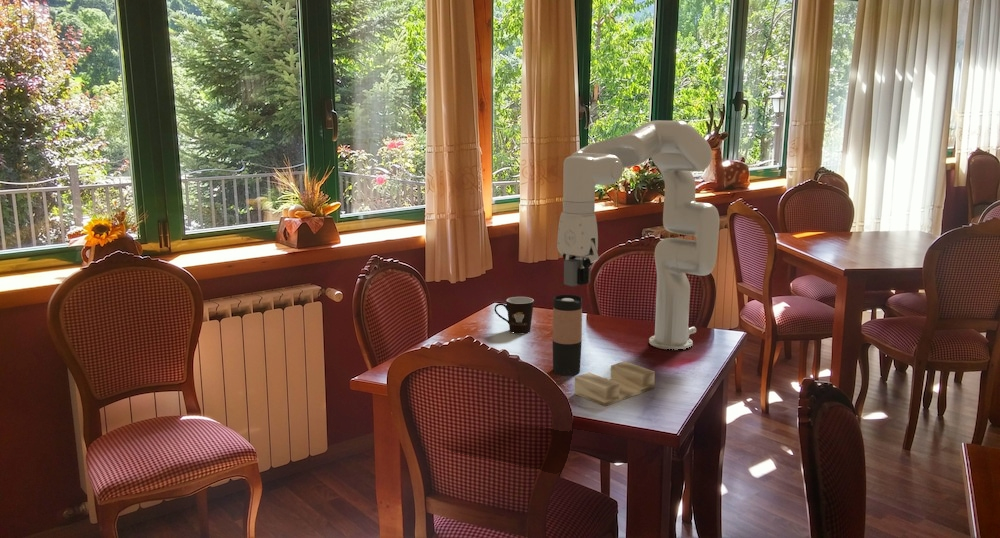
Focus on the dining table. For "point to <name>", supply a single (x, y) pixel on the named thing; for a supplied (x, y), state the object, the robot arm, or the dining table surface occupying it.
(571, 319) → the travel mug
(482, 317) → the dining table surface
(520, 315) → the coffee mug
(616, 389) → the notched board
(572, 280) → the tab
